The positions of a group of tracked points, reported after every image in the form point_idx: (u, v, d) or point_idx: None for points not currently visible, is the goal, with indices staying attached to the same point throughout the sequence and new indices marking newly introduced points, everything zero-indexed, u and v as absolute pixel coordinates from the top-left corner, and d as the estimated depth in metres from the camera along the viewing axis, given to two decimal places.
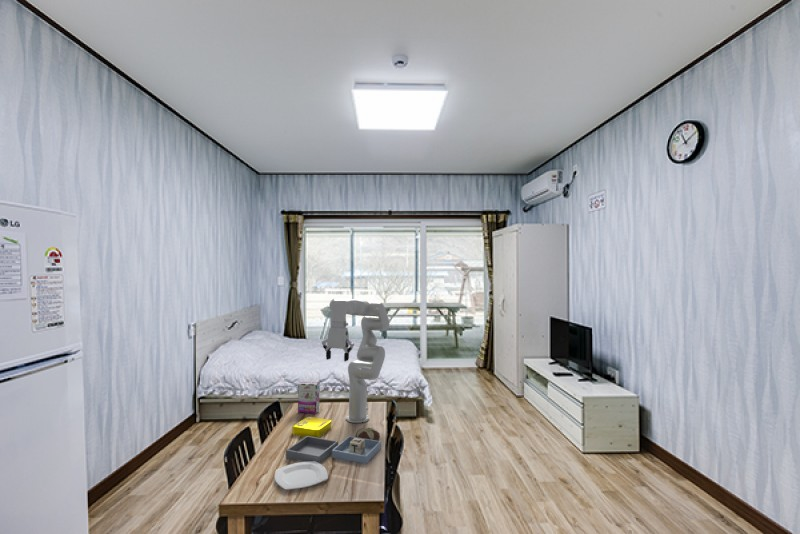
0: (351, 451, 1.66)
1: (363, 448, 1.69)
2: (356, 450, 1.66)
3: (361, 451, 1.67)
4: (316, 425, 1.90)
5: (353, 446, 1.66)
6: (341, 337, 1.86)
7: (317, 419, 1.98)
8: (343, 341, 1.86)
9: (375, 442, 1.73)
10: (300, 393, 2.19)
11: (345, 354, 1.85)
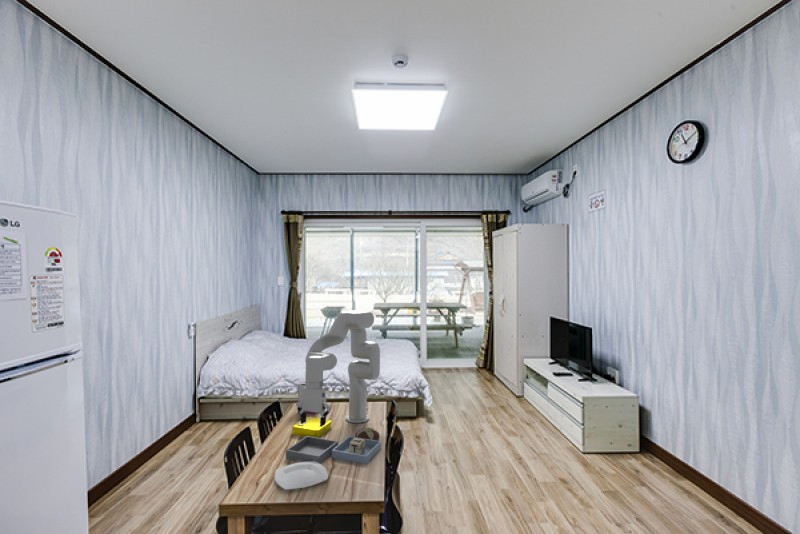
0: (351, 451, 1.66)
1: (363, 448, 1.69)
2: (356, 450, 1.66)
3: (361, 451, 1.67)
4: (316, 425, 1.90)
5: (353, 446, 1.66)
6: (317, 399, 1.65)
7: (317, 419, 1.98)
8: (319, 404, 1.65)
9: (375, 442, 1.73)
10: (300, 393, 2.19)
11: (321, 419, 1.65)
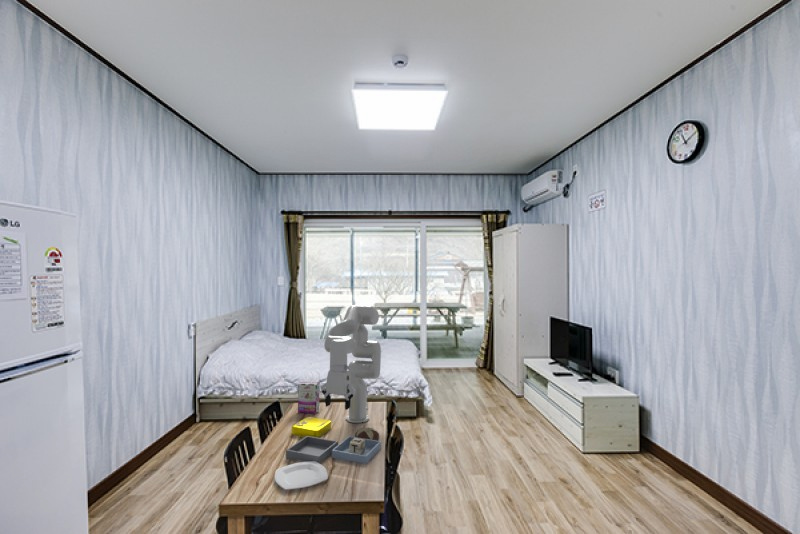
0: (351, 451, 1.66)
1: (363, 448, 1.69)
2: (356, 450, 1.66)
3: (361, 451, 1.67)
4: (315, 425, 1.89)
5: (353, 446, 1.66)
6: (342, 382, 1.66)
7: (317, 419, 1.98)
8: (344, 387, 1.65)
9: (375, 442, 1.73)
10: (300, 393, 2.19)
11: (346, 402, 1.66)
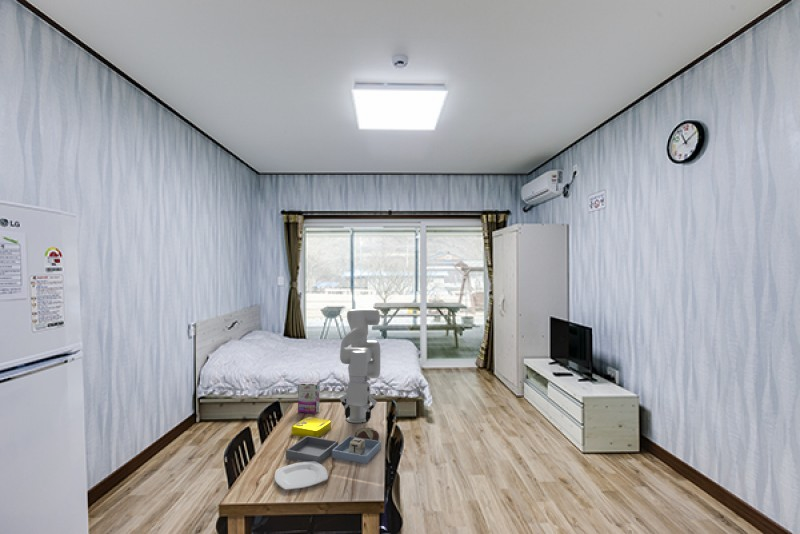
0: (351, 451, 1.66)
1: (363, 448, 1.69)
2: (356, 450, 1.66)
3: (361, 451, 1.67)
4: (315, 425, 1.89)
5: (353, 446, 1.66)
6: (362, 393, 1.66)
7: (317, 419, 1.98)
8: (364, 398, 1.65)
9: (375, 442, 1.73)
10: (300, 393, 2.19)
11: (367, 413, 1.65)
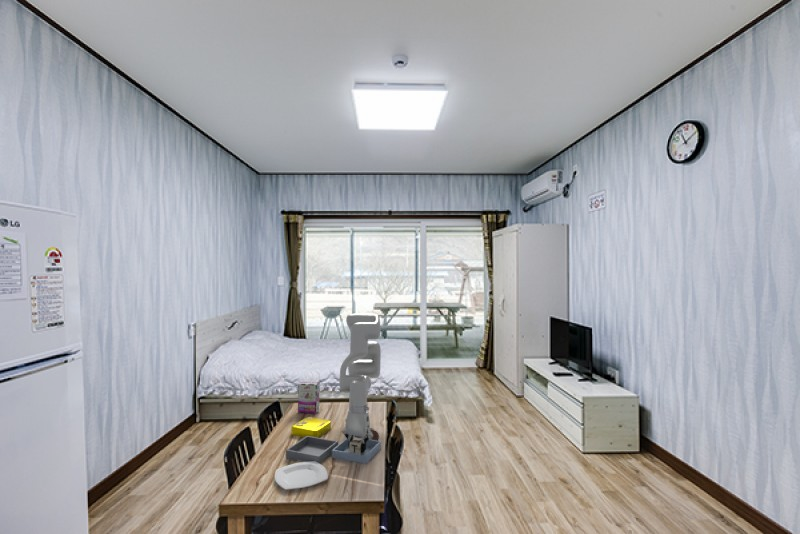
0: (351, 451, 1.66)
1: None
2: (356, 450, 1.66)
3: None
4: (315, 426, 1.89)
5: (353, 446, 1.66)
6: (362, 424, 1.65)
7: (317, 419, 1.97)
8: (364, 429, 1.65)
9: (375, 442, 1.73)
10: (300, 393, 2.19)
11: (362, 445, 1.66)
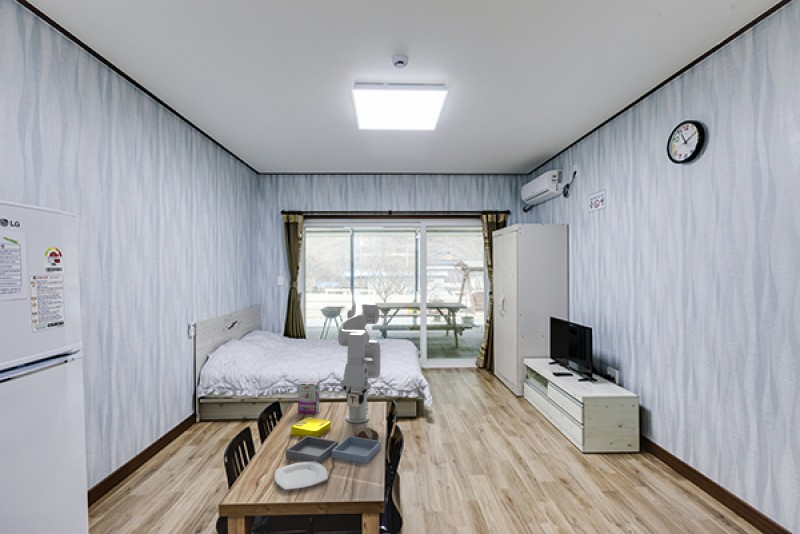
0: (349, 402, 1.68)
1: None
2: (354, 401, 1.67)
3: None
4: (314, 426, 1.89)
5: (352, 397, 1.68)
6: (360, 375, 1.67)
7: (316, 420, 1.97)
8: (362, 380, 1.67)
9: (375, 442, 1.73)
10: (300, 393, 2.19)
11: (360, 396, 1.68)
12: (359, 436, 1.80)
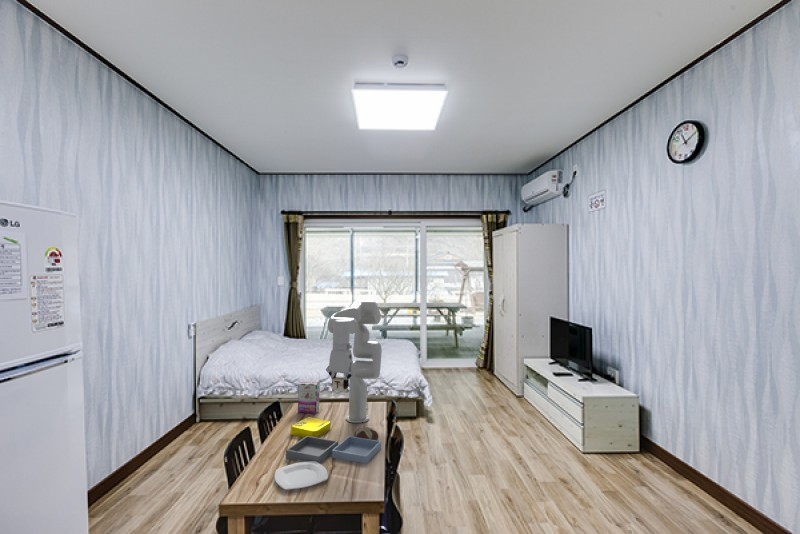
0: (334, 387, 1.73)
1: None
2: (339, 386, 1.72)
3: None
4: (314, 426, 1.89)
5: (336, 382, 1.72)
6: (344, 360, 1.72)
7: (316, 420, 1.97)
8: (346, 365, 1.71)
9: (375, 442, 1.73)
10: (300, 393, 2.19)
11: (344, 381, 1.72)
12: (359, 436, 1.80)
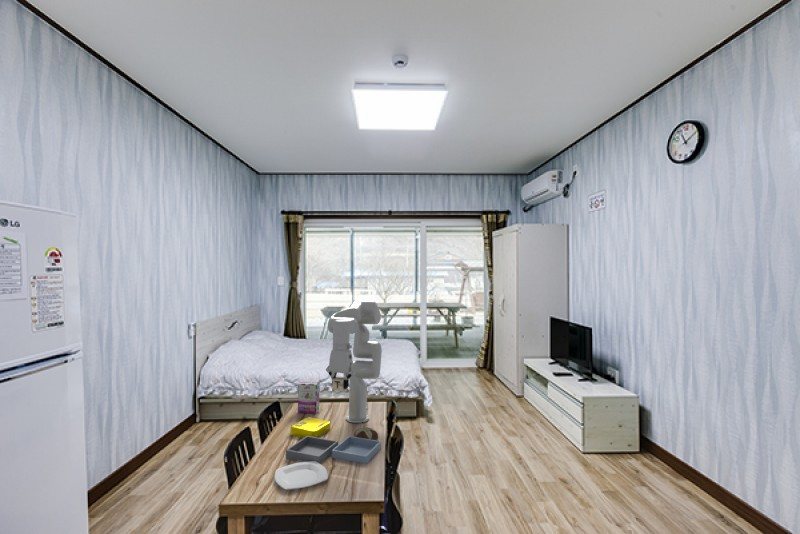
0: (334, 387, 1.73)
1: None
2: (339, 386, 1.72)
3: None
4: (314, 426, 1.89)
5: (336, 382, 1.72)
6: (344, 360, 1.72)
7: (316, 420, 1.97)
8: (346, 365, 1.71)
9: (375, 442, 1.73)
10: (300, 393, 2.19)
11: (344, 381, 1.72)
12: (359, 436, 1.80)
